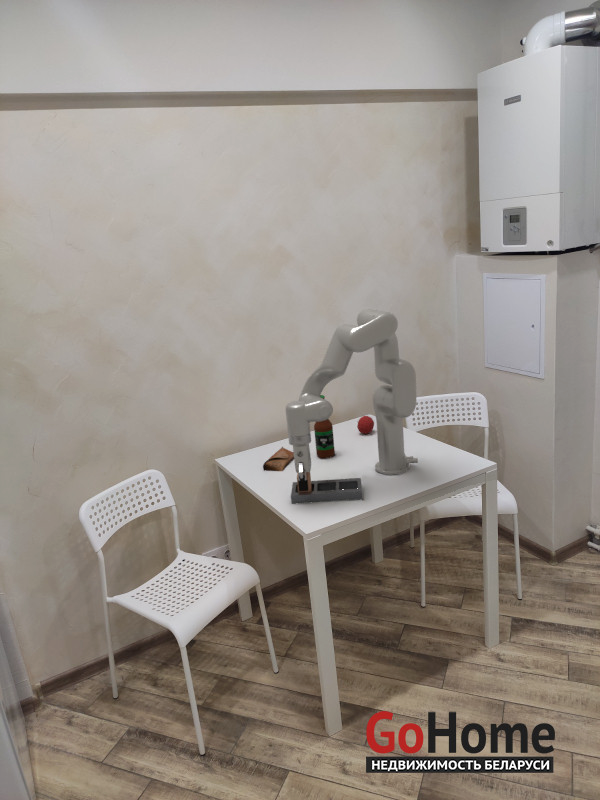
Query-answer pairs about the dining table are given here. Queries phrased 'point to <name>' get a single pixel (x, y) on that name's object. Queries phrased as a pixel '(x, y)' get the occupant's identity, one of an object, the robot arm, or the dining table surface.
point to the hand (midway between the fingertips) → (304, 484)
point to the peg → (308, 482)
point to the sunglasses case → (279, 460)
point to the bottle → (324, 438)
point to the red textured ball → (365, 424)
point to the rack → (329, 491)
